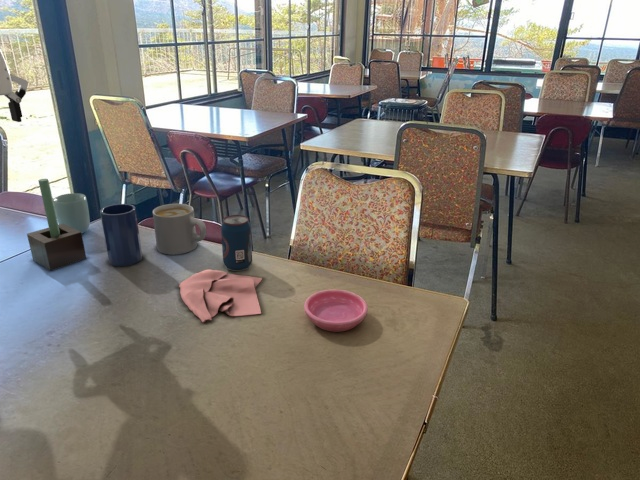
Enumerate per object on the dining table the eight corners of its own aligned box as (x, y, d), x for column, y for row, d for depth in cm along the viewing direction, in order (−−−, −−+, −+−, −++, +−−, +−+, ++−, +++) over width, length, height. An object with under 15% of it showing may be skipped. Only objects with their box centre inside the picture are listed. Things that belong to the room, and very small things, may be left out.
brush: (51, 259, 116) (33, 180, 108) (63, 255, 118) (46, 177, 110) (57, 263, 114) (39, 182, 106) (70, 259, 116) (53, 179, 108)
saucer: (347, 344, 87) (347, 330, 86) (291, 322, 93) (291, 309, 92) (377, 314, 97) (378, 300, 95) (325, 296, 103) (326, 283, 102)
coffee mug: (148, 249, 122) (143, 212, 118) (175, 235, 131) (171, 201, 127) (189, 260, 117) (185, 222, 113) (215, 246, 125) (212, 210, 121)
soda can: (221, 261, 117) (218, 215, 112) (249, 257, 119) (247, 212, 114) (225, 274, 111) (222, 226, 106) (255, 270, 113) (253, 223, 108)
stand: (33, 260, 115) (26, 233, 113) (68, 248, 122) (63, 223, 119) (50, 271, 111) (44, 243, 108) (86, 258, 117) (81, 231, 114)
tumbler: (102, 260, 116) (93, 209, 111) (130, 250, 122) (123, 201, 117) (120, 269, 112) (111, 217, 107) (148, 258, 118) (141, 208, 112)
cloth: (203, 267, 114) (202, 257, 113) (287, 284, 107) (287, 274, 106) (147, 309, 96) (145, 299, 95) (244, 333, 90) (243, 322, 89)
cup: (80, 239, 127) (74, 203, 123) (54, 236, 128) (46, 201, 124) (97, 228, 134) (91, 194, 130) (72, 226, 135) (65, 192, 131)
